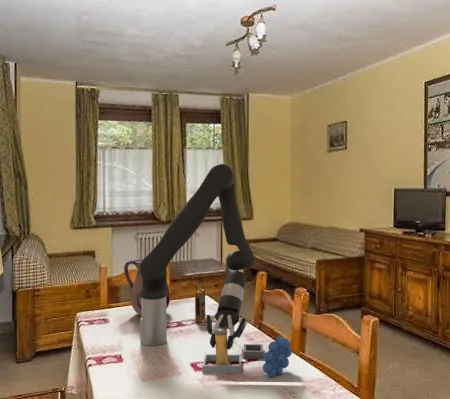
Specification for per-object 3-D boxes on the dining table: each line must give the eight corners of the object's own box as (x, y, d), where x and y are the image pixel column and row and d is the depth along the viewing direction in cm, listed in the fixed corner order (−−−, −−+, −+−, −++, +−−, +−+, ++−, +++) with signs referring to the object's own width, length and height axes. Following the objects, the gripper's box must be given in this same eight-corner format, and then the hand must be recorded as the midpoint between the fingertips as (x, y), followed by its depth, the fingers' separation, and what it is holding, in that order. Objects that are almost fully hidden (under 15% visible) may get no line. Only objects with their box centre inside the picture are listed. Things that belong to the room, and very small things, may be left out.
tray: (202, 374, 132) (202, 365, 132) (205, 362, 141) (205, 354, 141) (241, 375, 131) (240, 366, 131) (241, 363, 140) (241, 354, 140)
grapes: (280, 366, 137) (280, 329, 137) (296, 373, 132) (296, 335, 132) (254, 376, 130) (253, 338, 130) (269, 384, 125) (269, 344, 124)
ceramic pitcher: (167, 320, 186) (166, 263, 185) (119, 320, 186) (117, 263, 185) (172, 308, 203) (171, 256, 202) (128, 309, 203) (127, 257, 202)
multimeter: (215, 326, 177) (215, 279, 176) (192, 325, 179) (192, 278, 178) (223, 316, 191) (222, 271, 190) (201, 314, 193) (201, 271, 192)
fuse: (215, 369, 134) (214, 331, 134) (216, 364, 138) (215, 327, 138) (228, 369, 134) (226, 331, 134) (228, 363, 138) (227, 327, 138)
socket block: (241, 361, 142) (241, 352, 142) (241, 351, 150) (241, 343, 150) (265, 361, 141) (265, 352, 141) (264, 352, 149) (264, 343, 149)
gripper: (208, 292, 145) (195, 339, 133) (249, 295, 140) (239, 344, 129) (214, 303, 150) (202, 350, 139) (253, 307, 145) (244, 355, 134)
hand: (220, 347), depth 134 cm, fingers open, 4 cm apart
